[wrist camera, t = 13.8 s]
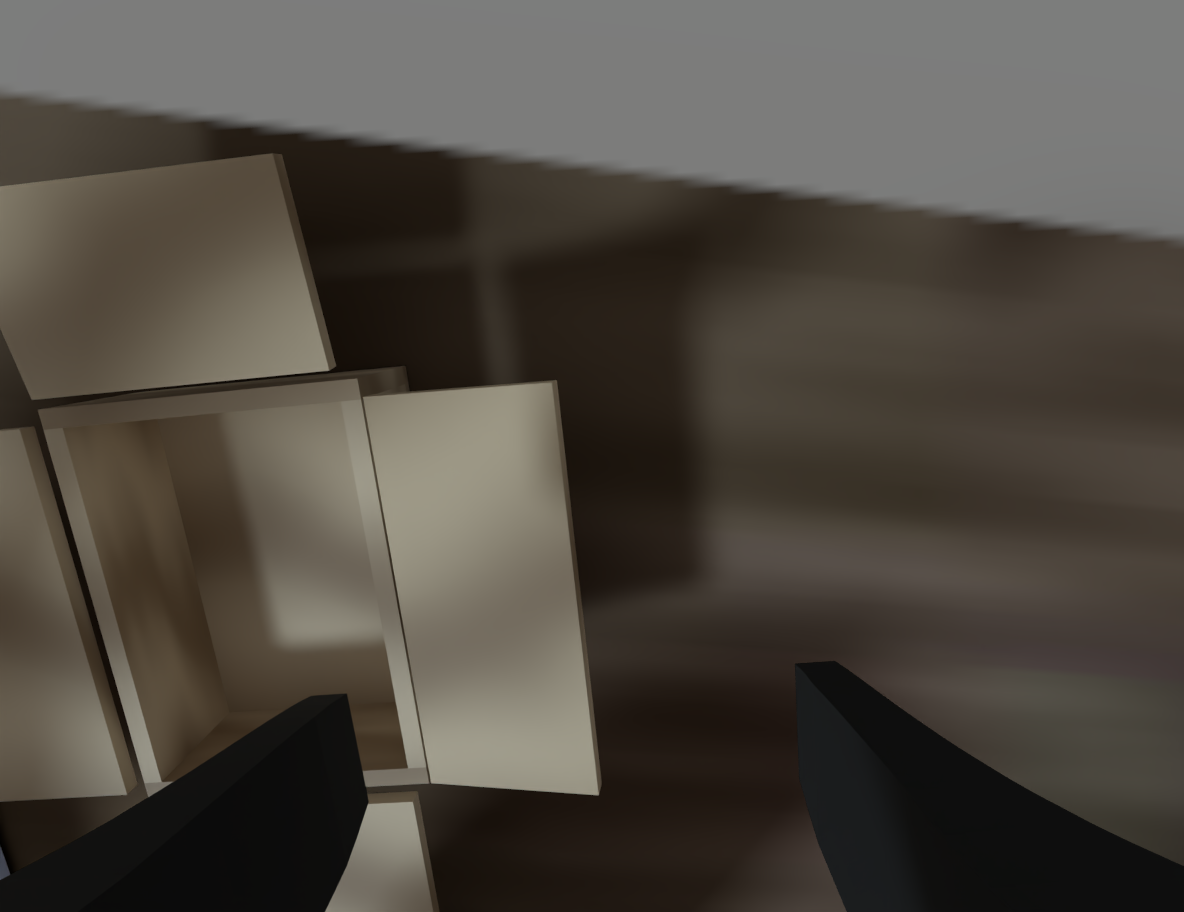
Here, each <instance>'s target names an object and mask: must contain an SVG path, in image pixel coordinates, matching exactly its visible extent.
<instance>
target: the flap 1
mask: <svg viewBox="0 0 1184 912" xmlns="http://www.w3.org/2000/svg"><path fill="white" fill-rule="evenodd" d="M0 329H1V331H2V334H3V336H4V338H5V340H6V343H7V345H8V347H9V349H10V352H11V354H12V356H13V359H14V361H15V363H16V365H17V368H18V370H19V372H20V374H21V377H22V379H23V381H24V383H25V386H26V388H27V390H28V393H29V395H30V397H31V399H32V400H37V399H47V398H57V397H67V396H78V395H88V394H98V393H108V392H118V391H128V390H138V389H148V388H158V387H168V386H179V385H189V384H199V383H209V382H219V381H229V380H239V379H249V378H259V377H270V376H280V375H290V374H300V373H310V372H320V371H329V370H331V369H333V368H334V367H336V363H335V359H334V355H333V352H332V348H331V344H330V340H329V336H328V332H327V328H326V324H325V320H324V316H323V313H322V309H321V305H320V301H319V297H318V293H317V289H316V285H315V281H314V278H313V274H312V270H311V266H310V262H309V258H308V254H307V250H306V246H305V242H304V239H303V235H302V231H301V227H300V223H299V219H298V215H297V211H296V207H295V203H294V200H293V196H292V192H291V188H290V184H289V180H288V176H287V172H286V168H285V164H284V161H283V157H282V154H275V153H271V154H262V155H254V156H246V157H238V158H230V159H222V160H214V161H205V162H197V163H189V164H181V165H173V166H165V167H157V168H148V169H140V170H132V171H124V172H116V173H108V174H100V175H91V176H83V177H75V178H67V179H59V180H51V181H42V182H34V183H26V184H18V185H10V186H2V187H0Z"/></svg>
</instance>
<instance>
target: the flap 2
mask: <svg viewBox="0 0 1184 912" xmlns="http://www.w3.org/2000/svg"><path fill="white" fill-rule="evenodd" d="M363 400H364V405H365V411H366V417H367V422H368V428H369V434H370V439H371V445H372V451H373V456H374V462H375V468H376V473H377V479H378V485H379V490H380V496H381V502H382V507H383V513H384V519H385V524H386V530H387V536H388V541H389V547H390V553H391V558H392V564H393V570H394V575H395V581H396V587H397V592H398V598H399V604H400V609H401V615H402V621H403V626H404V632H405V638H406V643H407V649H408V655H409V660H410V666H411V672H412V677H413V683H414V689H415V694H416V700H417V706H418V711H419V717H420V723H421V728H422V734H423V740H424V745H425V751H426V757H427V762H428V768H429V774H430V779H431V783H436V784H450V785H464V786H477V787H491V788H505V789H518V790H532V791H546V792H559V793H573V794H587V795H599V792H600V789H601V785H602V781H601V772H600V763H599V754H598V745H597V736H596V727H595V718H594V709H593V700H592V691H591V682H590V673H589V664H588V655H587V646H586V637H585V628H584V619H583V610H582V601H581V592H580V583H579V574H578V565H577V556H576V547H575V538H574V529H573V520H572V511H571V502H570V493H569V484H568V475H567V467H566V458H565V449H564V440H563V431H562V422H561V413H560V404H559V395H558V386H557V380H551V381H539V382H526V383H513V384H500V385H488V386H475V387H462V388H450V389H437V390H424V391H411V392H399V393H386V394H373V395H369V396H365V397H363Z"/></svg>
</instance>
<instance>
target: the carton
mask: <svg viewBox="0 0 1184 912" xmlns="http://www.w3.org/2000/svg"><path fill="white" fill-rule="evenodd" d="M399 392H410V390H409V383H408V377H407V371H406V366H397V367H387V368H377V369H367V370H356V371H346V372H336V373H326V374H316V375H306V376H296V377H286V378H275V379H265V380H255V381H245V382H235V383H225V384H215V385H204V386H194V387H184V388H174V389H164V390H154V391H144V392H137V393H131V394H125V395H120V396H114V397H108V398H102V399H96V400H91V401H85V402H79V403H73V404H68V405H62V406H56V407H50V408H44V409H39V410H38V413H39V416H40V420H41V423H42V427H43V430H44V434H45V437H46V441H47V444H48V448H49V451H50V455H51V458H52V462H53V465H54V469H55V472H56V476H57V479H58V483H59V486H60V490H61V493H62V497H63V500H64V504H65V507H66V511H67V514H68V518H69V521H70V525H71V528H72V532H73V535H74V539H75V542H76V546H77V549H78V553H79V556H80V560H81V563H82V567H83V570H84V574H85V577H86V581H87V584H88V588H89V591H90V595H91V598H92V602H93V605H94V609H95V612H96V616H97V619H98V623H99V626H100V630H101V633H102V637H103V640H104V644H105V647H106V651H107V654H108V658H109V661H110V664H111V668H112V671H113V675H114V678H115V682H116V685H117V689H118V692H119V696H120V699H121V703H122V706H123V710H124V713H125V717H126V720H127V724H128V727H129V731H130V734H131V738H132V741H133V745H134V748H135V752H136V755H137V759H138V762H139V766H140V769H141V773H142V776H143V780H144V783H145V787H146V790H147V794H148V797H150V796H151V795H153V794H154V793H156V792H158V791H159V790H161V789H163V788H164V787H166V786H167V785H169V784H171V783H172V782H174V781H176V780H177V779H179V778H180V777H182V776H184V775H185V774H187V773H188V772H190V771H192V770H193V769H195V768H196V767H198V766H199V765H201V764H202V763H204V762H205V761H207V760H209V759H210V758H212V757H213V756H215V755H216V754H218V753H219V752H221V751H222V750H224V749H225V748H227V747H228V746H230V745H232V744H233V743H235V742H236V741H238V740H239V739H241V738H242V737H244V736H245V735H247V734H248V733H250V732H251V731H253V730H255V729H256V728H258V727H259V726H261V725H262V724H264V723H265V722H267V721H268V720H270V719H272V718H273V717H275V716H276V715H278V714H280V713H281V712H283V711H284V710H286V709H288V708H289V707H291V706H293V705H295V704H296V703H298V702H300V701H302V700H304V699H306V698H308V697H310V696H315V695H330V694H345V693H347V696H348V701H349V706H350V711H351V716H352V721H353V726H354V731H355V736H356V741H357V746H358V751H359V756H360V761H361V765H362V770H363V775H364V780H365V785H366V787H372V786H390V785H409V784H427V783H429V782H430V780H431V779H430V774H429V768H428V762H427V757H426V751H425V745H424V740H423V734H422V728H421V723H420V717H419V711H418V706H417V700H416V694H415V689H414V683H413V677H412V672H411V666H410V660H409V655H408V649H407V643H406V638H405V632H404V626H403V621H402V615H401V609H400V604H399V598H398V592H397V587H396V581H395V575H394V570H393V564H392V558H391V553H390V547H389V541H388V536H387V530H386V524H385V519H384V513H383V507H382V502H381V496H380V490H379V485H378V479H377V473H376V468H375V462H374V456H373V451H372V445H371V439H370V434H369V428H368V422H367V417H366V411H365V405H364V400H363V397H365V396H369V395H373V394H386V393H399ZM137 785H138V784H137V780H136V777H135V773H134V770H133V766H132V763H131V759H130V756H129V752H128V749H127V745H126V742H125V739H124V735H123V732H122V728H121V725H120V721H119V718H118V714H117V711H116V707H115V704H114V700H113V697H112V694H111V690H110V687H109V683H108V680H107V676H106V673H105V669H104V666H103V662H102V659H101V655H100V652H99V648H98V645H97V642H96V638H95V635H94V631H93V628H92V624H91V621H90V617H89V614H88V610H87V607H86V603H85V600H84V597H83V593H82V590H81V586H80V583H79V579H78V576H77V572H76V569H75V565H74V562H73V558H72V555H71V552H70V548H69V545H68V541H67V538H66V534H65V531H64V527H63V524H62V520H61V517H60V513H59V510H58V506H57V503H56V500H55V496H54V493H53V489H52V486H51V482H50V479H49V475H48V472H47V468H46V465H45V461H44V458H43V455H42V451H41V448H40V444H39V441H38V437H37V434H36V430H35V427H34V426H32V427H21V428H11V429H0V802H4V801H23V800H41V799H59V798H77V797H95V796H113V795H127V794H128V793H129V792H130V791H131V790H132V789H133V788H134V787H136V786H137ZM367 795H368V800H369V803H368V806H367V809H366V812H365V815H364V818H363V821H362V824H361V827H360V830H359V833H358V836H357V839H356V842H355V845H354V848H353V850H352V853H351V856H350V859H349V861H348V864H347V867H346V869H345V871H344V873H343V875H342V878H341V880H340V882H339V884H338V886H337V888H336V890H335V892H334V894H333V896H332V899H331V901H330V903H329V905H328V907H327V909H326V911H325V912H439V906H438V901H437V895H436V890H435V884H434V879H433V873H432V868H431V862H430V857H429V851H428V846H427V840H426V835H425V829H424V824H423V818H422V813H421V807H420V802H419V796H418V791H409V792H390V793H372V794H367Z"/></svg>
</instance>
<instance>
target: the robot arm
mask: <svg viewBox="0 0 1184 912" xmlns="http://www.w3.org/2000/svg"><path fill="white" fill-rule="evenodd" d="M795 676H796V704H797V731H798V759H799V779H800V783H801V786H802V790H803V793H804V797H805V800H806V804H807V807H808V811H809V814H810V817H811V821H812V824H813V827H814V831H815V834H816V837H817V840H818V844H819V846H820V848H821V851H822V853H823V856H824V858H825V861H826V863H827V865H828V868H829V870H830V873H831V875H832V877H833V880H834V882H835V885H836V887H837V889H838V892H839V894H840V896H841V899H842V901H843V904H844V906H845V908H846V911H847V912H1184V866H1182V865H1180V864H1177V863H1175V862H1173V861H1171V860H1169V859H1166V858H1164V857H1162V856H1160V855H1158V854H1155V853H1153V852H1151V851H1149V850H1146V849H1144V848H1142V847H1140V846H1138V845H1135V844H1133V843H1131V842H1129V841H1127V840H1125V839H1123V838H1121V837H1118V836H1116V835H1114V834H1112V833H1110V832H1108V831H1106V830H1104V829H1102V828H1100V827H1098V826H1096V825H1094V824H1092V823H1090V822H1088V821H1086V820H1084V819H1082V818H1080V817H1078V816H1077V815H1075V814H1073V813H1071V812H1069V811H1067V810H1065V809H1063V808H1061V807H1060V806H1058V805H1056V804H1054V803H1052V802H1050V801H1048V800H1046V799H1044V798H1043V797H1041V796H1039V795H1037V794H1035V793H1033V792H1031V791H1030V790H1028V789H1026V788H1024V787H1023V786H1021V785H1019V784H1017V783H1016V782H1014V781H1012V780H1010V779H1009V778H1007V777H1005V776H1004V775H1002V774H1000V773H999V772H997V771H995V770H994V769H992V768H991V767H989V766H987V765H986V764H984V763H983V762H981V761H979V760H978V759H976V758H974V757H973V756H971V755H970V754H968V753H966V752H965V751H963V750H961V749H960V748H958V747H957V746H955V745H954V744H952V743H951V742H949V741H948V740H946V739H945V738H943V737H942V736H940V735H939V734H937V733H936V732H934V731H933V730H931V729H930V728H928V727H927V726H925V725H924V724H923V723H921V722H920V721H918V720H917V719H915V718H914V717H912V716H911V715H910V714H908V713H907V712H905V711H904V710H903V709H901V708H900V707H898V706H897V705H896V704H894V703H893V702H891V701H890V700H889V699H887V698H886V697H885V696H883V695H882V694H880V693H879V692H878V691H876V690H875V689H874V688H872V687H871V686H869V685H868V684H867V683H865V682H864V681H863V680H861V679H860V678H859V677H857V676H856V675H854V674H853V673H852V672H850V671H849V670H848V669H846V668H845V667H843V666H842V665H840V664H839V663H837V662H836V661H828V662H813V663H798V664H795ZM368 803H369V800H368V795H367V790H366V785H365V780H364V775H363V770H362V765H361V761H360V756H359V751H358V746H357V741H356V736H355V731H354V726H353V721H352V716H351V711H350V706H349V701H348V696H347V693H345V694H330V695H315V696H310V697H308V698H306V699H304V700H302V701H300V702H298V703H296V704H295V705H293V706H291V707H289V708H288V709H286V710H284V711H283V712H281V713H280V714H278V715H276V716H275V717H273V718H272V719H270V720H268V721H267V722H265V723H264V724H262V725H261V726H259V727H258V728H256V729H255V730H253V731H251V732H250V733H248V734H247V735H245V736H244V737H242V738H241V739H239V740H238V741H236V742H235V743H233V744H232V745H230V746H228V747H227V748H225V749H224V750H222V751H221V752H219V753H218V754H216V755H215V756H213V757H212V758H210V759H209V760H207V761H205V762H204V763H202V764H201V765H199V766H198V767H196V768H195V769H193V770H192V771H190V772H188V773H187V774H185V775H184V776H182V777H180V778H179V779H177V780H176V781H174V782H172V783H171V784H169V785H167V786H166V787H164V788H163V789H161V790H159V791H158V792H156V793H154V794H153V795H151V796H150V797H148V798H146V799H145V800H143V801H141V802H140V803H138V804H136V805H135V806H133V807H132V808H130V809H128V810H127V811H125V812H123V813H122V814H120V815H119V816H117V817H115V818H114V819H112V820H110V821H108V822H107V823H105V824H103V825H102V826H100V827H98V828H96V829H95V830H93V831H91V832H89V833H87V834H86V835H84V836H82V837H80V838H79V839H77V840H75V841H73V842H71V843H70V844H68V845H66V846H64V847H62V848H60V849H58V850H56V851H55V852H53V853H51V854H49V855H47V856H45V857H43V858H41V859H39V860H38V861H36V862H34V863H32V864H30V865H28V866H26V867H24V868H22V869H21V870H19V871H17V872H15V873H13V874H11V875H10V872H9V869H8V866H7V863H6V860H5V857H4V855H3V852H2V849H1V846H0V912H325V911H326V909H327V907H328V905H329V903H330V901H331V899H332V896H333V894H334V892H335V890H336V888H337V886H338V884H339V882H340V880H341V878H342V875H343V873H344V871H345V869H346V867H347V864H348V861H349V859H350V856H351V853H352V850H353V848H354V845H355V842H356V839H357V836H358V833H359V830H360V827H361V824H362V821H363V818H364V815H365V812H366V809H367V806H368Z"/></svg>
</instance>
